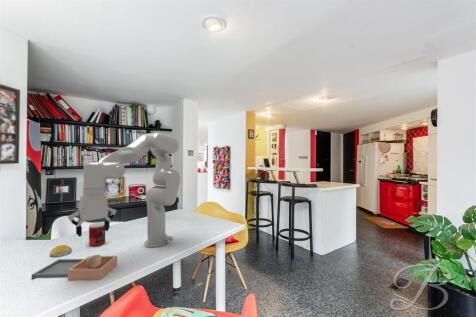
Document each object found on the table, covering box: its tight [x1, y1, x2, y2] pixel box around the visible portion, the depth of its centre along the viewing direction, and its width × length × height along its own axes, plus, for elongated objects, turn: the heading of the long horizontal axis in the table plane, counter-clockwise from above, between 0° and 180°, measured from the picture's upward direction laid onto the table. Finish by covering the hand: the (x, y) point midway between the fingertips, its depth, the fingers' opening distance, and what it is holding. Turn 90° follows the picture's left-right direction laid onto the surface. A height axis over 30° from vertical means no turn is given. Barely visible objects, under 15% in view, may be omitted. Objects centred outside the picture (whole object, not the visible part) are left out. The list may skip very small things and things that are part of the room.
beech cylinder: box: [87, 254, 102, 269], centre depth 94 cm, size 5×5×6 cm
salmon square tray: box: [67, 255, 118, 281], centre depth 94 cm, size 13×13×4 cm
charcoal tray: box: [31, 258, 85, 280], centre depth 97 cm, size 14×14×2 cm
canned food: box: [88, 222, 106, 248], centre depth 127 cm, size 8×8×11 cm
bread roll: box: [49, 244, 73, 258], centre depth 114 cm, size 8×9×4 cm
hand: (93, 233), depth 94 cm, fingers open, 9 cm apart
